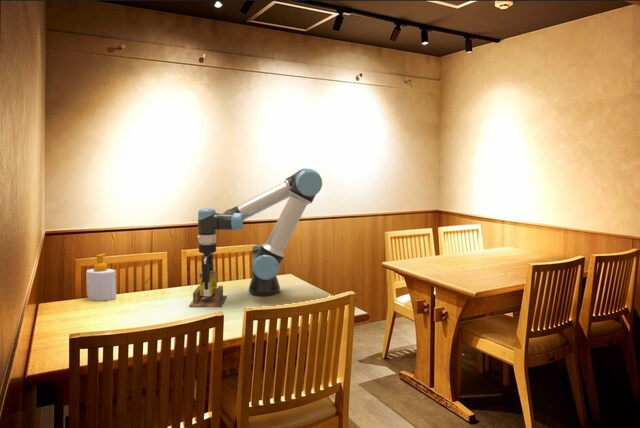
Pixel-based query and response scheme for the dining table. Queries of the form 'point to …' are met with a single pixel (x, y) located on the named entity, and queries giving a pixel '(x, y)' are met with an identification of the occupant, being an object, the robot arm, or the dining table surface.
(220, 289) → the slot block
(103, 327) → the dining table surface
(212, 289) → the supplement box
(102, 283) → the soap bottle
